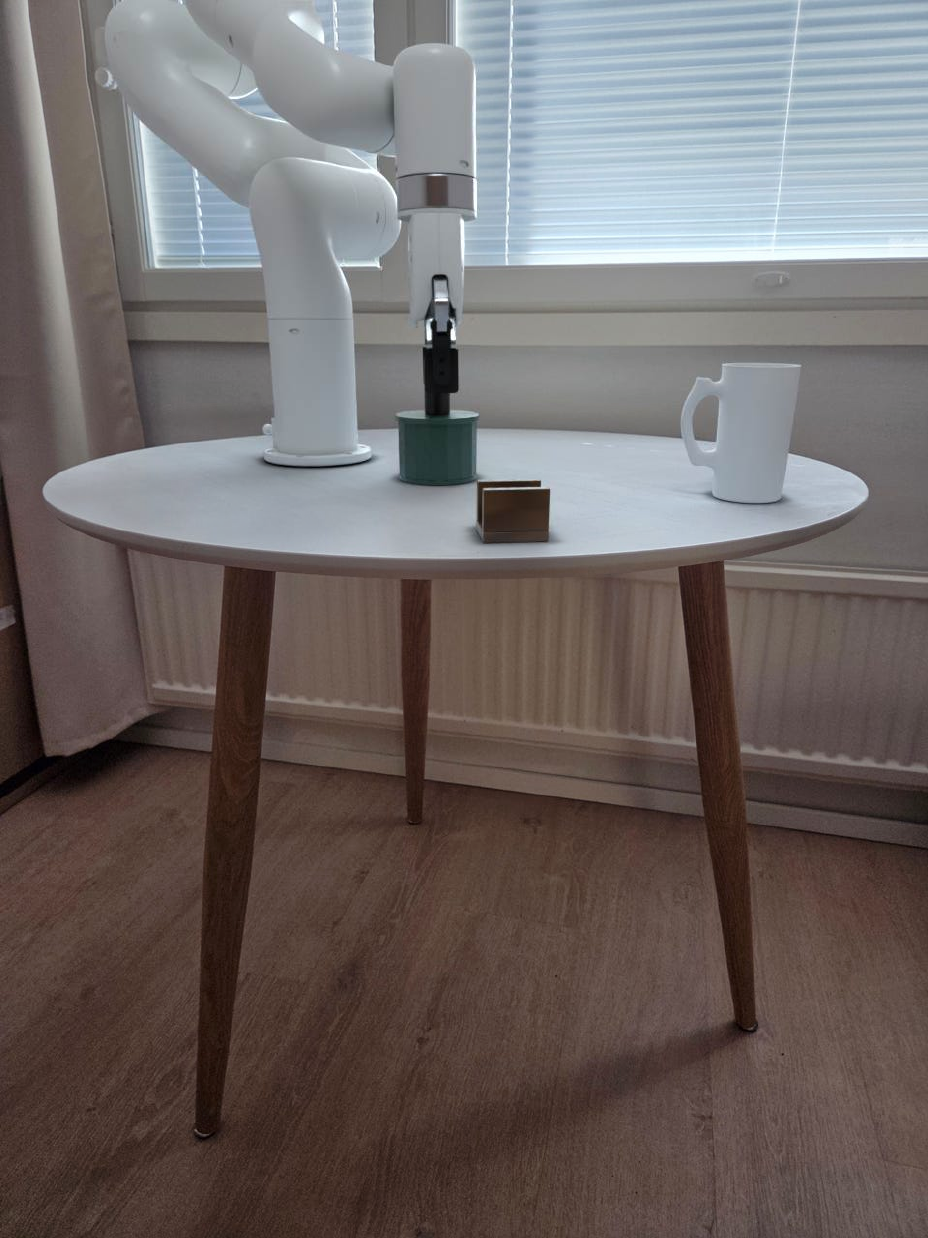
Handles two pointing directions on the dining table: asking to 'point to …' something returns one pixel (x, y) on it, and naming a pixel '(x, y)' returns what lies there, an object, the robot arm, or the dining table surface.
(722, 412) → the mug
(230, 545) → the dining table surface
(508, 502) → the rack
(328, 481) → the dining table surface
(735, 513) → the dining table surface
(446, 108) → the robot arm
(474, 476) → the pot
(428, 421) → the lid
